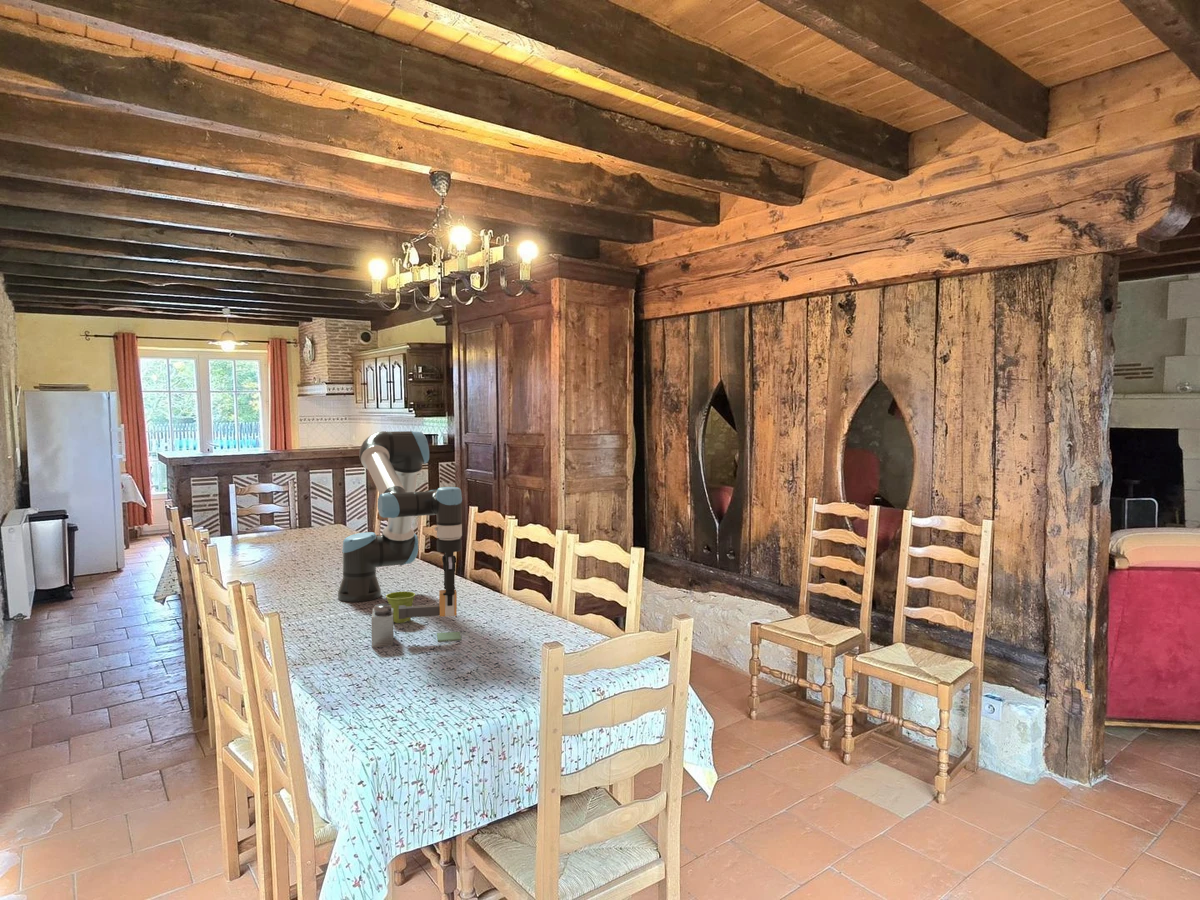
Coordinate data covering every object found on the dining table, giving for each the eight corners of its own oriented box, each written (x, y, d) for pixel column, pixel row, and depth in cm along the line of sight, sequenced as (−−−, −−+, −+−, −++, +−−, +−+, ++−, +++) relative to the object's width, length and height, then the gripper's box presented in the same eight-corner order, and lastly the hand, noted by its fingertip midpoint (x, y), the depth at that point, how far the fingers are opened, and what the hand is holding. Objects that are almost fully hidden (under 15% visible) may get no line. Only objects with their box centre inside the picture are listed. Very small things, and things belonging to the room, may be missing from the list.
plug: (398, 615, 216) (398, 592, 215) (455, 611, 220) (455, 589, 220) (398, 619, 211) (398, 596, 211) (456, 615, 216) (456, 593, 215)
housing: (373, 638, 216) (372, 602, 216) (393, 636, 218) (393, 601, 217) (371, 647, 208) (371, 610, 207) (392, 646, 209) (392, 609, 209)
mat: (436, 634, 220) (436, 633, 220) (459, 633, 222) (459, 631, 222) (437, 641, 214) (437, 640, 214) (461, 640, 215) (461, 638, 215)
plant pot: (385, 625, 229) (385, 599, 228) (386, 617, 238) (386, 592, 237) (415, 623, 231) (415, 597, 231) (415, 615, 240) (415, 590, 240)
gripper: (435, 533, 224) (435, 606, 225) (437, 543, 207) (437, 622, 208) (459, 532, 226) (459, 604, 227) (463, 542, 209) (463, 620, 210)
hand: (449, 613), depth 217 cm, fingers closed on plug, 4 cm apart
